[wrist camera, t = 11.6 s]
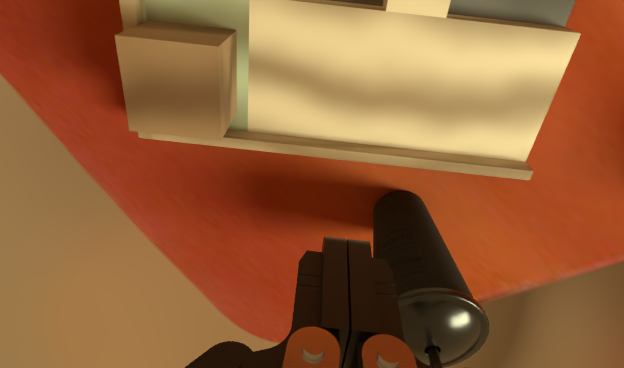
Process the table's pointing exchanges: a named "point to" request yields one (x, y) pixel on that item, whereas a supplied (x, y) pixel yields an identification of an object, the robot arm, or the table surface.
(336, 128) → the board
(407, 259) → the drinking cup
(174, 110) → the walnut block
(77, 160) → the table surface
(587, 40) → the table surface
